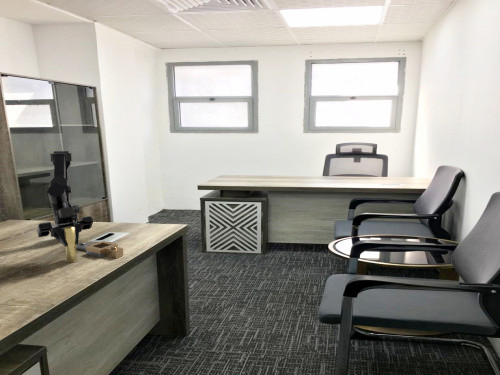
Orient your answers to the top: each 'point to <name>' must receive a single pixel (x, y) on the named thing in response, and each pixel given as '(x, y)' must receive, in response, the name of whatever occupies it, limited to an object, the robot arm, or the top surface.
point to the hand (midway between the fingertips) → (71, 245)
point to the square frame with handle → (101, 249)
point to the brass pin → (70, 244)
